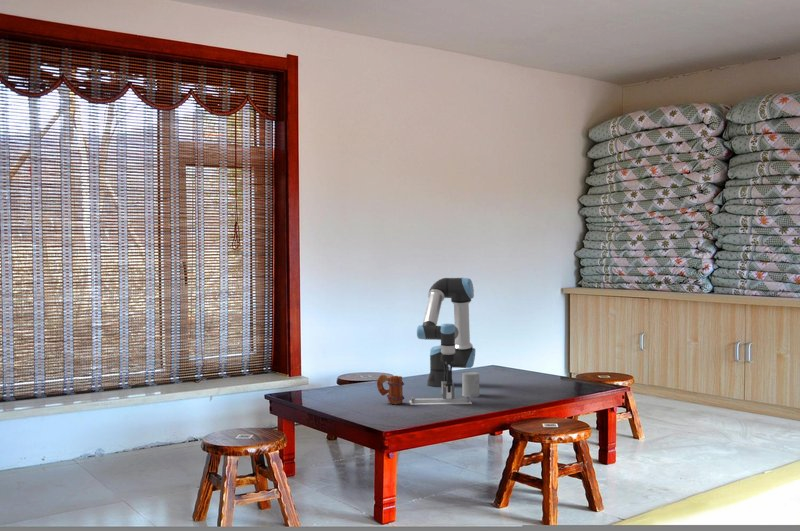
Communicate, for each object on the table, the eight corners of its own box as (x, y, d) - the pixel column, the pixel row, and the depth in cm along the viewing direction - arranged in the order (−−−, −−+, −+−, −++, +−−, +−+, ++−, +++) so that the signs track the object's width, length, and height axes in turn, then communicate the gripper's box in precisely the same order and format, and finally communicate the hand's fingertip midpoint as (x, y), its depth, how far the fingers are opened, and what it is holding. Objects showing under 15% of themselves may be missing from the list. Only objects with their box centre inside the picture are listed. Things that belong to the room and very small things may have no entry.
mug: (406, 402, 407) (406, 374, 406) (402, 405, 399) (402, 376, 399) (380, 401, 411) (379, 372, 411) (375, 404, 403) (375, 375, 403)
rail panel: (409, 401, 410) (409, 396, 410) (469, 400, 412) (469, 395, 412) (410, 404, 401) (410, 399, 401) (472, 403, 403) (472, 398, 403)
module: (441, 396, 410) (441, 381, 409) (452, 396, 410) (452, 381, 410) (443, 398, 403) (443, 383, 402) (454, 398, 403) (454, 383, 403)
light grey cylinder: (475, 393, 432) (475, 371, 432) (482, 396, 423) (482, 374, 423) (459, 394, 429) (459, 372, 429) (466, 397, 420) (466, 375, 420)
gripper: (438, 351, 416) (438, 393, 416) (443, 356, 396) (443, 400, 396) (452, 350, 416) (452, 393, 416) (457, 355, 396) (457, 400, 397)
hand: (447, 396), depth 406 cm, fingers closed on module, 7 cm apart
